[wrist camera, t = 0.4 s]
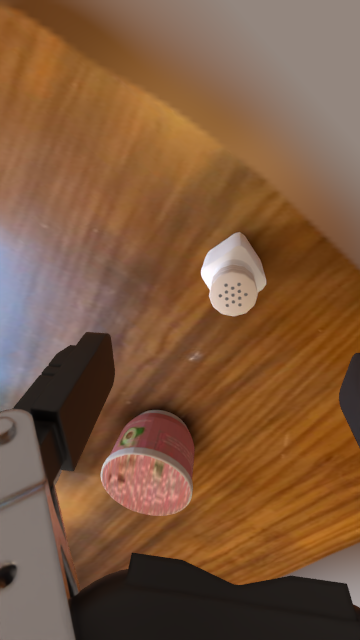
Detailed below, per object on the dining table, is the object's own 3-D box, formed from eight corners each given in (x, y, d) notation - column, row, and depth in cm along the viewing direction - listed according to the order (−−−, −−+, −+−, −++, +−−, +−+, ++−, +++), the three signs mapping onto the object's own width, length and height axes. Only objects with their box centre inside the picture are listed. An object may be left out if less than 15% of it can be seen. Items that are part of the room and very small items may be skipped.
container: (207, 413, 37) (200, 469, 30) (191, 466, 42) (182, 525, 35) (127, 392, 38) (102, 443, 31) (120, 447, 43) (98, 501, 36)
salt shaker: (204, 253, 28) (191, 287, 20) (240, 227, 27) (243, 253, 19) (227, 286, 30) (224, 331, 21) (263, 263, 28) (275, 303, 20)
